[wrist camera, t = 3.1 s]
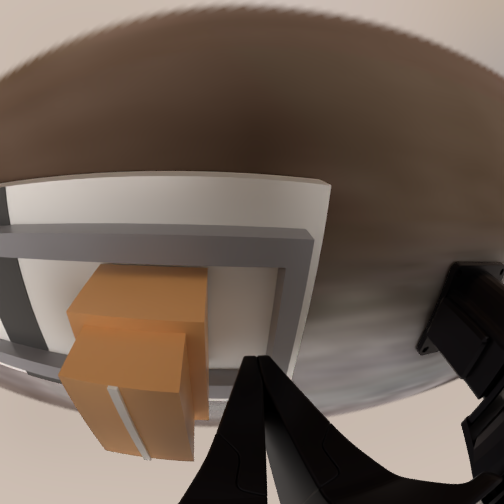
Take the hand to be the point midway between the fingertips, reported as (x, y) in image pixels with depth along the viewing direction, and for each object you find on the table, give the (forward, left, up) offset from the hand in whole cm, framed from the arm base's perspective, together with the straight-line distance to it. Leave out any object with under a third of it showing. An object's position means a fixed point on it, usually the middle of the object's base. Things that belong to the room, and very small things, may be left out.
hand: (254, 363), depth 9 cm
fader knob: (+4, 0, -2) cm, 4 cm away
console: (+8, 0, -4) cm, 8 cm away
